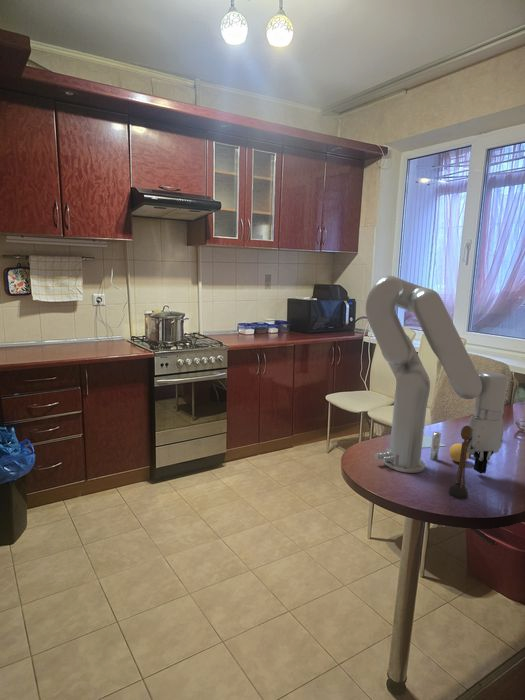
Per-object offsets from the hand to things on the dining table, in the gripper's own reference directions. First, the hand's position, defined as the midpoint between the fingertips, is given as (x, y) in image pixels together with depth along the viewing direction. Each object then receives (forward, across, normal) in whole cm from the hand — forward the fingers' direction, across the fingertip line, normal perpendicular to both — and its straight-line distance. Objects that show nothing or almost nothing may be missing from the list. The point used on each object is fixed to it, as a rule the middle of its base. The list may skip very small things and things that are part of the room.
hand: (479, 471), depth 134 cm
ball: (-2, -1, -10) cm, 10 cm away
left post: (+2, +6, -13) cm, 15 cm away
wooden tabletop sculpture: (+2, +14, +9) cm, 17 cm away
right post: (+2, -6, -13) cm, 15 cm away
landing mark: (+2, 0, -27) cm, 27 cm away
